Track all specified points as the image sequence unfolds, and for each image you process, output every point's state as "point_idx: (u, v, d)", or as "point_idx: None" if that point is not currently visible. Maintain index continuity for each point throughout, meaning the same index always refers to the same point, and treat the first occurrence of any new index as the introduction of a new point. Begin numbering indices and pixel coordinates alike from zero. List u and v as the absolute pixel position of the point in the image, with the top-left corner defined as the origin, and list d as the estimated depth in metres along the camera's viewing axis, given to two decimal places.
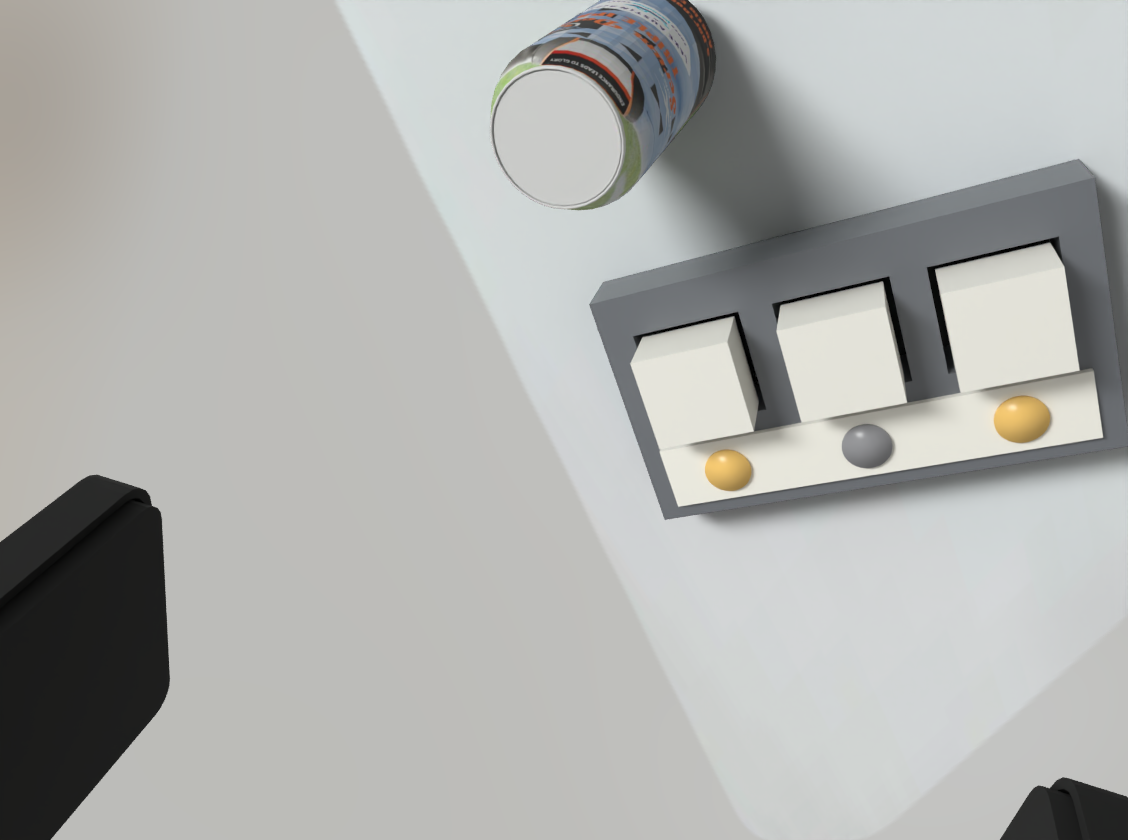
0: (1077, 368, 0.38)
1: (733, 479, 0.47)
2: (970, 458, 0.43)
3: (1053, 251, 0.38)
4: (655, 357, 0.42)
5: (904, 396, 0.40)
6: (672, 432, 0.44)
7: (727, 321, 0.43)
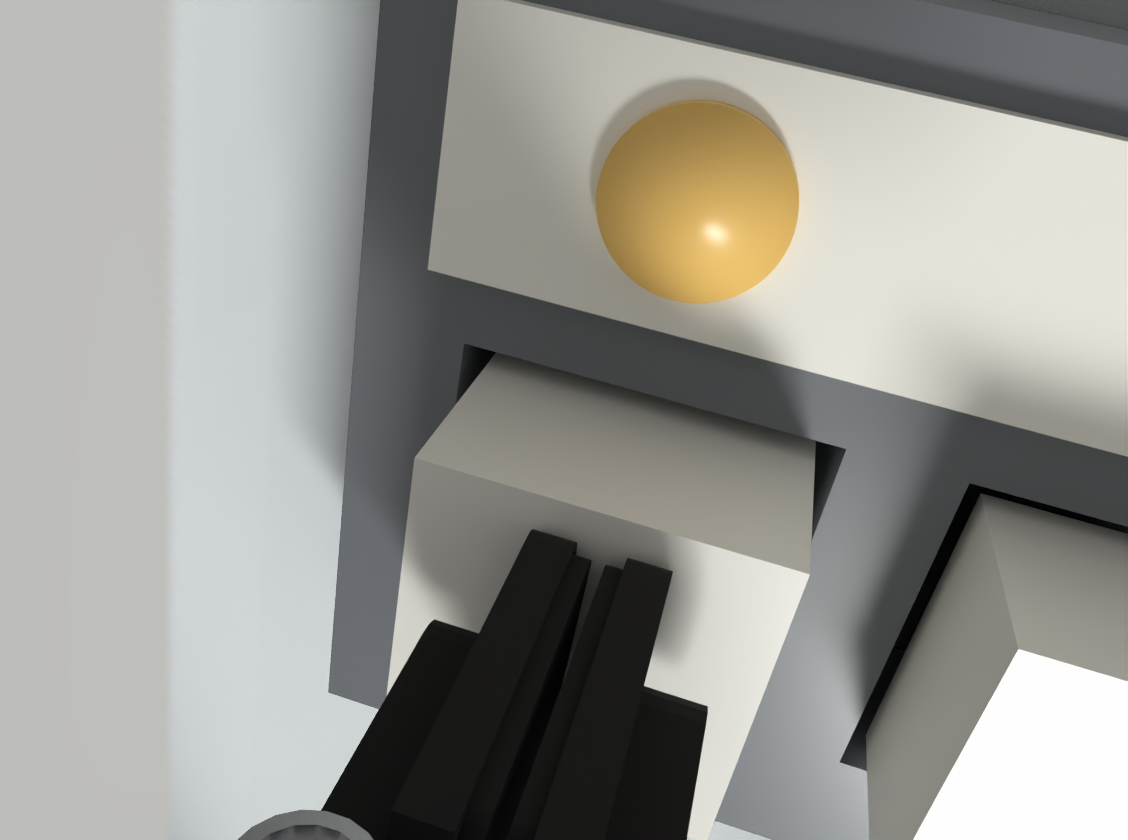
0: (418, 466, 0.11)
1: None
2: (962, 101, 0.10)
3: None
4: None
5: (1010, 671, 0.10)
6: None
7: None
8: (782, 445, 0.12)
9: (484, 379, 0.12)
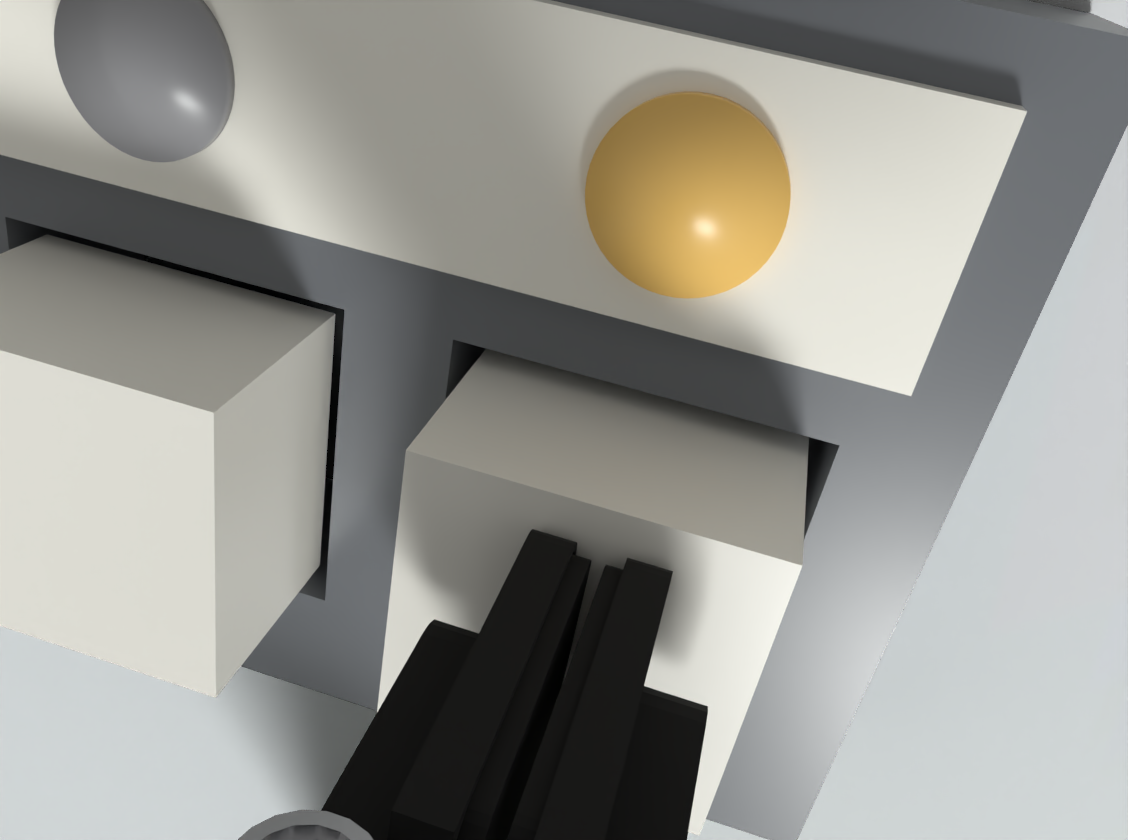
0: None
1: (682, 153, 0.10)
2: None
3: None
4: None
5: None
6: (705, 593, 0.11)
7: None
8: None
9: None
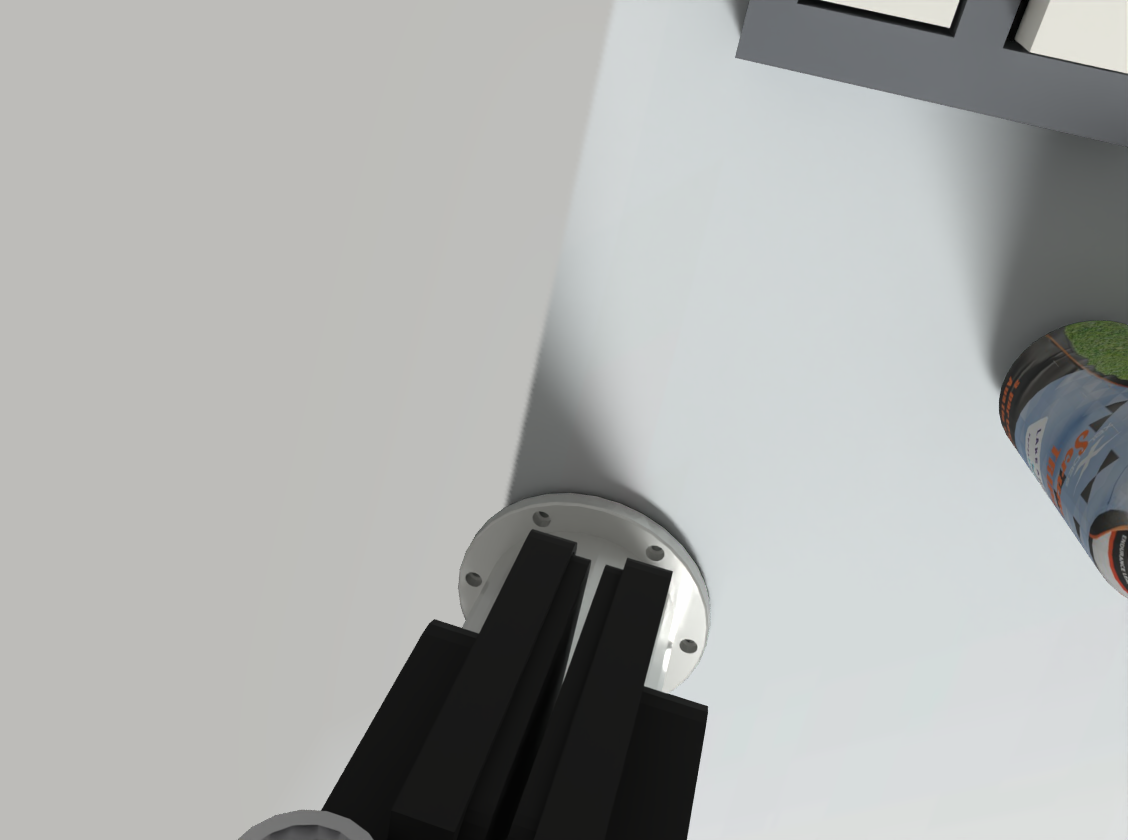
0: None
1: None
2: None
3: None
4: None
5: None
6: None
7: None
8: None
9: None
